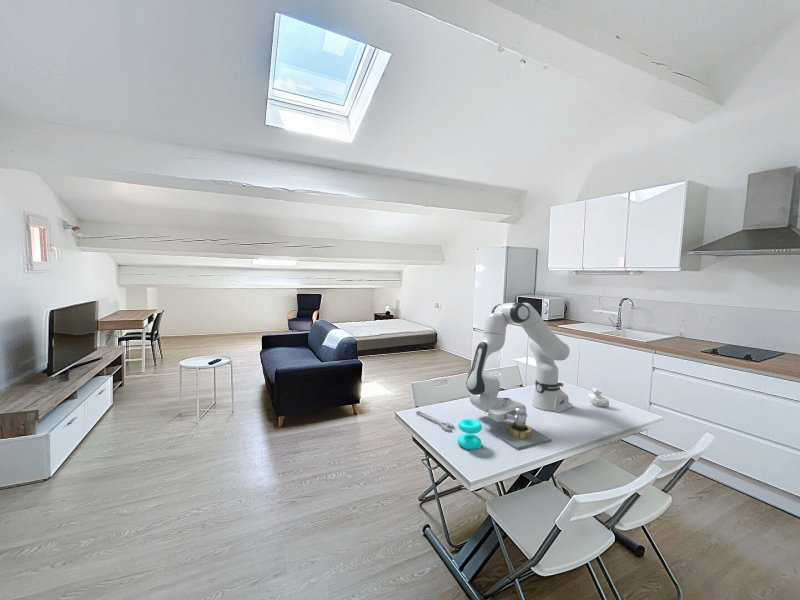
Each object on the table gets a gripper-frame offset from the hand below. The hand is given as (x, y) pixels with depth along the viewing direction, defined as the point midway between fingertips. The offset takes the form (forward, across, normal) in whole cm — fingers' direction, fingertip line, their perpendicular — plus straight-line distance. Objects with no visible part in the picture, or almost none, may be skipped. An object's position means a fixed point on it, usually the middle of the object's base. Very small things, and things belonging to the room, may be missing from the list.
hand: (521, 417), depth 150 cm
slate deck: (-1, 0, +9) cm, 9 cm away
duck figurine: (-1, +70, +9) cm, 71 cm away
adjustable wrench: (-33, -23, +10) cm, 42 cm away
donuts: (-7, -25, +9) cm, 28 cm away
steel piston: (-1, 0, +6) cm, 6 cm away
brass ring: (-1, 0, +9) cm, 9 cm away
